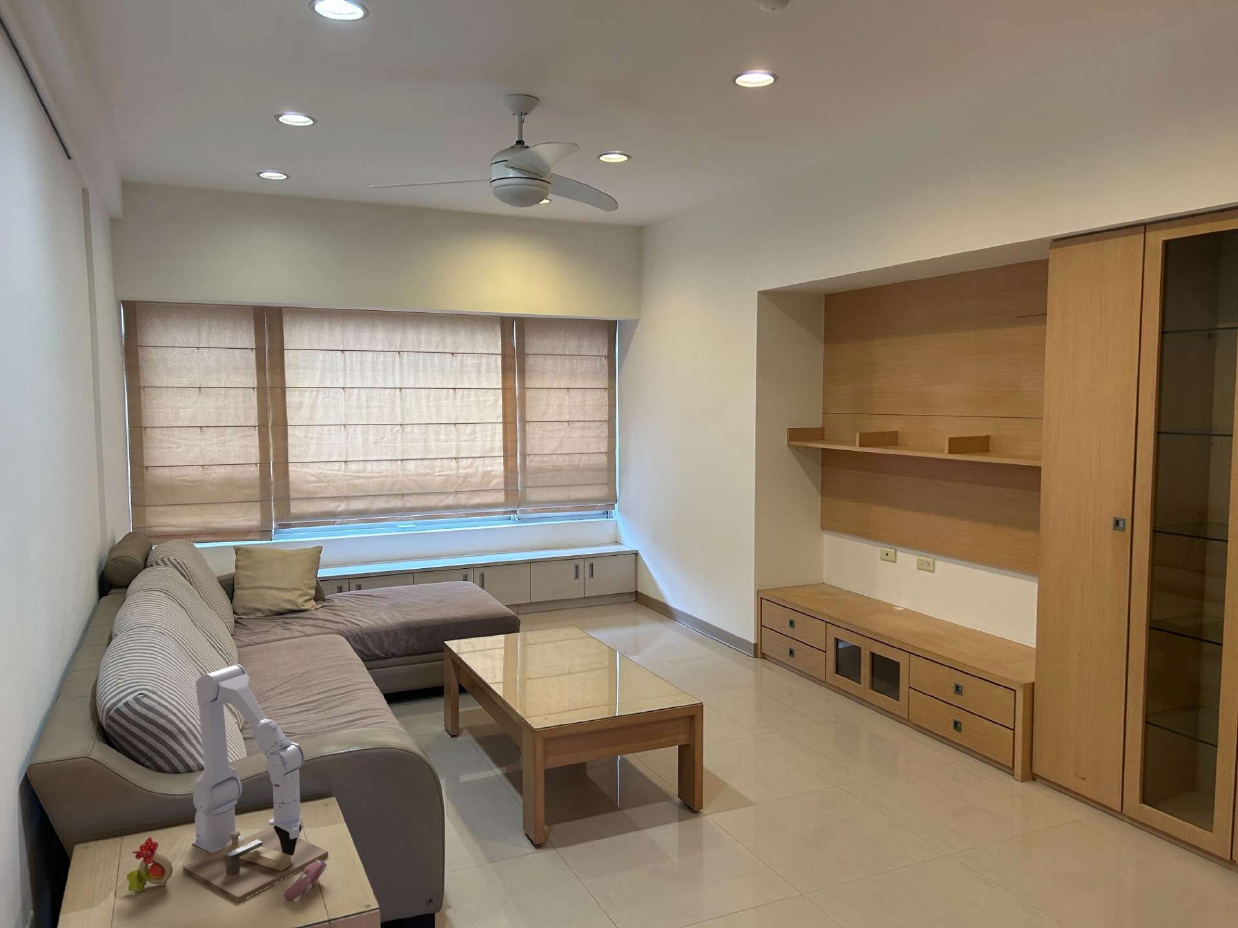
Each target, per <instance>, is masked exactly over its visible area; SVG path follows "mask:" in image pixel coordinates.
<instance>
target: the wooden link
mask: <svg viewBox="0 0 1238 928" xmlns="http://www.w3.org/2000/svg"><path fill="white" fill-rule="evenodd" d="M238 836H239V837H241V831H239V830H236V831H234V832H232V833H230V837H231V838H232V841H230V842H228V843H227V844H226V853H229V852H231V851H233V850H235V849H237V848H239V847H241V846H244V845H246V844H248V843H247V842H245V841H244V840H242V839H238ZM239 858H240V859H244V860H247V861H250V862H253V863H257V864H260V865H263V866H266V867H270V868H273V869H276V870H280V871H282V870H284V869H285V868H287V867H288V866H290V865H291V855H288V854H285V853H281V852H278V851H275V850H271V849H268V848H264V847H259V848H257V849H255V850H253V851H250V852H248V853H246V854H244V855H242V856H240V857H239Z"/></svg>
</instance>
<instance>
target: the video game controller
mask: <svg viewBox="0 0 1238 928" xmlns="http://www.w3.org/2000/svg"><path fill="white" fill-rule="evenodd" d="M327 866H328V865H327V863H326V862H324V861H323V860H320V861H318V859H317V860H316V861H315V862H314V863H312V864H309V865H308V866H306V867H305V869H303V870H302V873H301V874H300V875H299V876H298V878H297V879H296V881H295V882H294V883H292V885H290V886H289V887H288V888H286V890H284V892H283V898H284V900H286V901H293V900H295V899H297V898H298V897H299V896H301V895H303V896H305V895H306V894H307V893H308V892H309V890H310V889H311V888H314V886H315V885H317V884H318V880H319V878H320V877H321V876H322V874H323V873H324V871H325V870H326V868H327Z"/></svg>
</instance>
